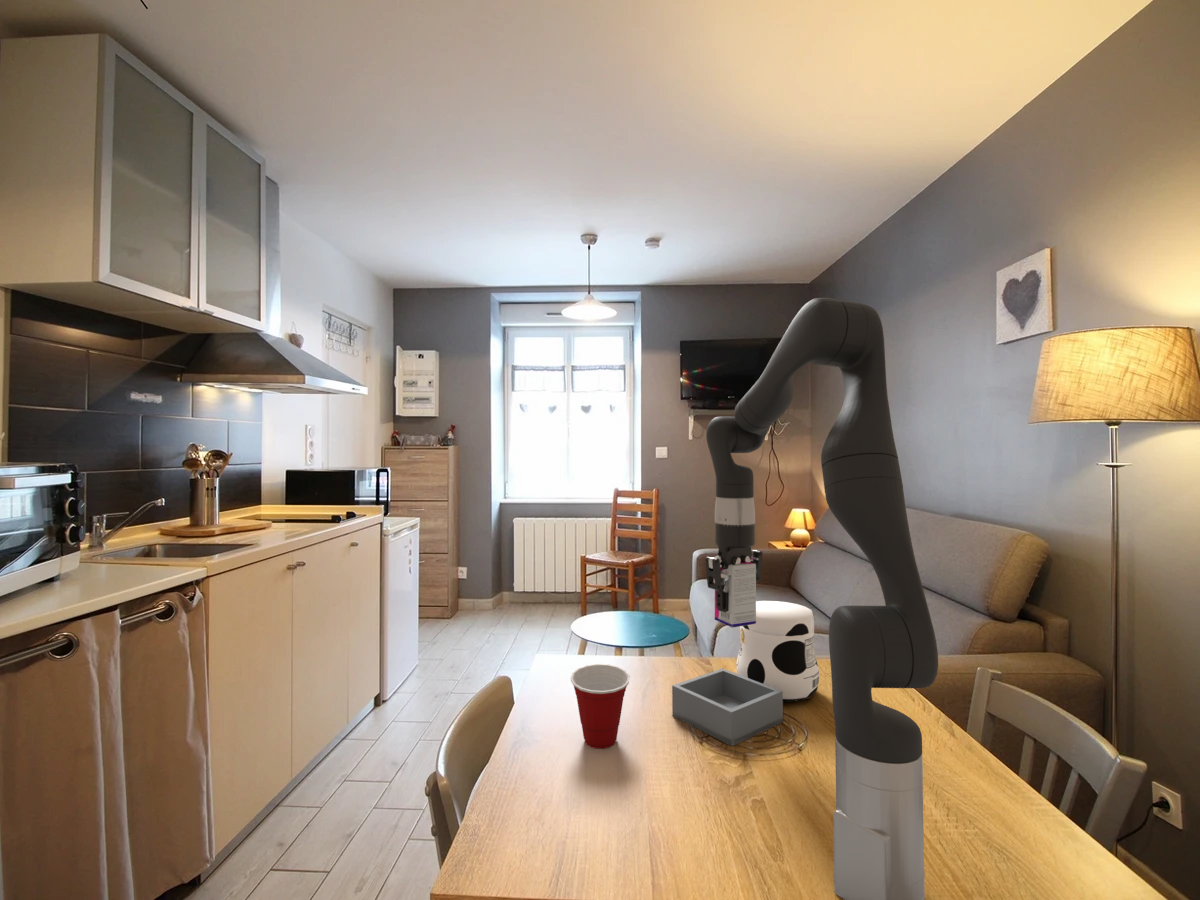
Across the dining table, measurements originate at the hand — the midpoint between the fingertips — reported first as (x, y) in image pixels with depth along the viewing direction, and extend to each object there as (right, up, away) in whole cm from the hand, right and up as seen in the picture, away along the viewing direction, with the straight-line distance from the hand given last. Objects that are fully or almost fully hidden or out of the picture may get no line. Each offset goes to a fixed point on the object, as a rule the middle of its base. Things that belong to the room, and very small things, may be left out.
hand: (735, 607), depth 107 cm
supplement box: (0, -3, 0) cm, 3 cm away
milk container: (+13, -23, +16) cm, 31 cm away
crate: (-1, -23, +3) cm, 23 cm away
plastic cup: (-26, -23, -6) cm, 35 cm away
